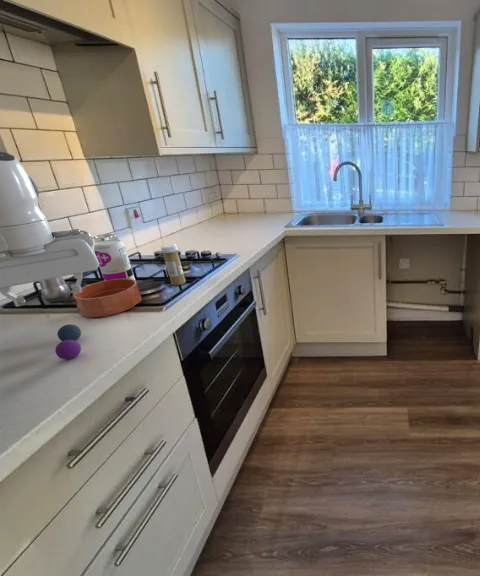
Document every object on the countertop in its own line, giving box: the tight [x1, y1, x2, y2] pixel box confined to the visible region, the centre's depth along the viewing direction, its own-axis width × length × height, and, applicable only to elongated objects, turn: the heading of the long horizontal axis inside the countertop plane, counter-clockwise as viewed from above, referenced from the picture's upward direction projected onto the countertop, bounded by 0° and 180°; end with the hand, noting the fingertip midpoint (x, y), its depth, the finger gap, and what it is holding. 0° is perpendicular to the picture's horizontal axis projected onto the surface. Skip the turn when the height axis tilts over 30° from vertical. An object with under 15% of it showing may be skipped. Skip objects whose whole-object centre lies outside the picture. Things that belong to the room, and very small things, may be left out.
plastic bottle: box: [38, 276, 71, 303], centre depth 109 cm, size 6×7×20 cm
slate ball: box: [57, 323, 82, 342], centre depth 89 cm, size 4×4×4 cm
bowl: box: [72, 278, 143, 318], centre depth 106 cm, size 15×15×6 cm
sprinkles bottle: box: [160, 243, 187, 286], centre depth 121 cm, size 5×5×14 cm
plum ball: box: [54, 340, 82, 360], centre depth 82 cm, size 4×4×4 cm
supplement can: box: [93, 239, 136, 281], centre depth 120 cm, size 8×8×15 cm
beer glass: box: [93, 232, 120, 244], centre depth 129 cm, size 7×7×15 cm
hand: (50, 298), depth 78 cm, fingers open, 8 cm apart
